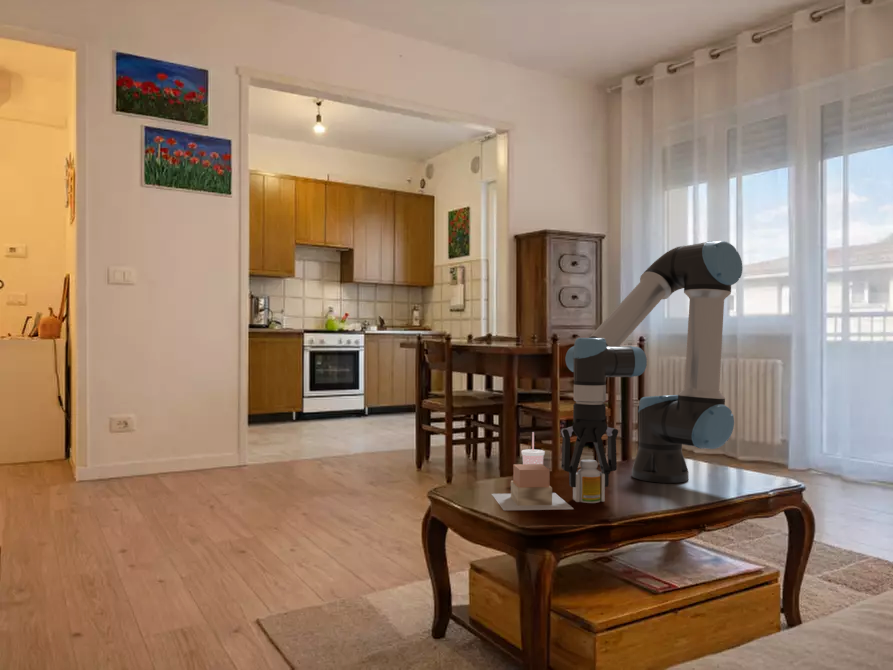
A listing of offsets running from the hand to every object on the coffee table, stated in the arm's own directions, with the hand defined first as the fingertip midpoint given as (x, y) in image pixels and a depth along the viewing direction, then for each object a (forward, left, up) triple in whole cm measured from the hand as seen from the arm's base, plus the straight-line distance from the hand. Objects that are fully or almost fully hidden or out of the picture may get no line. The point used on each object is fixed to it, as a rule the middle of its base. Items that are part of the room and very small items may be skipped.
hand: (588, 500), depth 159 cm
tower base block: (+14, 0, 0) cm, 14 cm away
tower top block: (+14, 0, +4) cm, 15 cm away
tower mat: (+14, 0, 0) cm, 14 cm away
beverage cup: (+9, -19, -1) cm, 21 cm away
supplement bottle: (0, 0, -1) cm, 1 cm away
